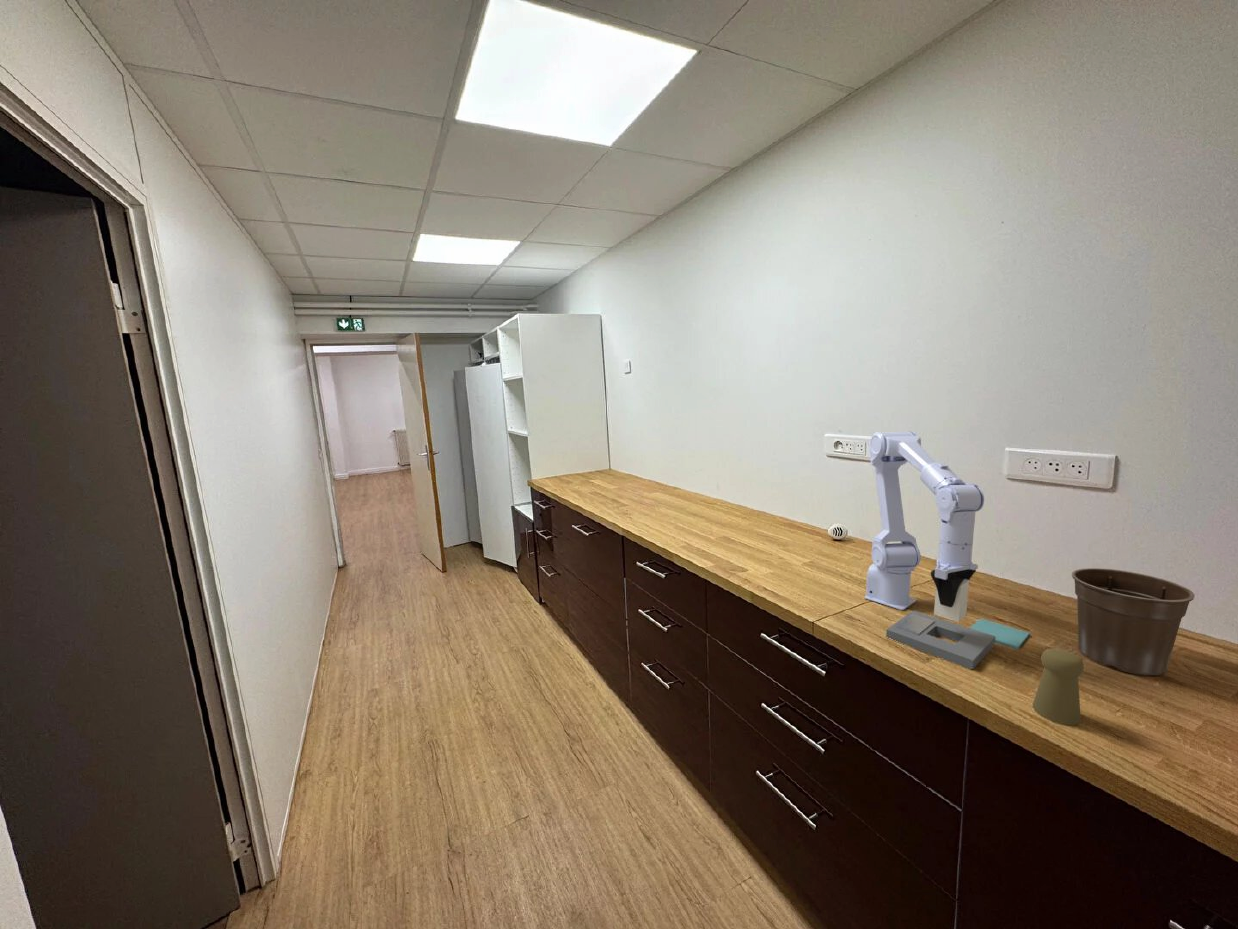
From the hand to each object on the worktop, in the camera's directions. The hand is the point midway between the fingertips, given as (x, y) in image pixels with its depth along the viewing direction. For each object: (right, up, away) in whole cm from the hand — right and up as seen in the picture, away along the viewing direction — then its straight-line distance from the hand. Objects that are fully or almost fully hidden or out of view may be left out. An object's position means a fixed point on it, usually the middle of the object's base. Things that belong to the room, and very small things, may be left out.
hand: (951, 602), depth 101 cm
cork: (+3, -13, -21) cm, 25 cm away
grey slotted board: (-1, -9, +2) cm, 10 cm away
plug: (0, -3, 0) cm, 3 cm away
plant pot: (+29, -10, -6) cm, 31 cm away
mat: (+13, -8, +4) cm, 16 cm away
